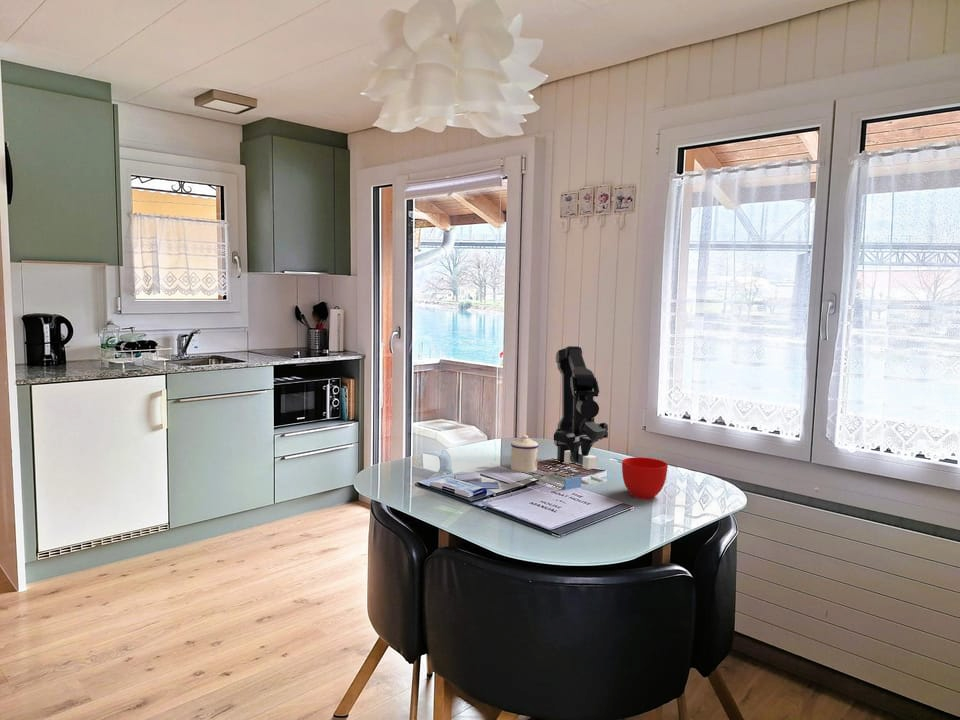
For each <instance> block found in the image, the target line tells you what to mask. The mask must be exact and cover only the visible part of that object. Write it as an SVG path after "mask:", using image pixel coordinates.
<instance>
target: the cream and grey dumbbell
mask: <svg viewBox="0 0 960 720" xmlns="http://www.w3.org/2000/svg"><path fill="white" fill-rule="evenodd" d="M564 462H566V463H569V464H568V465H571V464H570V463H574V464H578V465H581V466H582V469H585V470H591V469H592V470H593V469H597V464H598V457H597V456H596V455H592V454H588V456H585V455H582V453H579V456H578V462H575V461H574V459H573V457H572V454H571V452H570V450H567V451H564Z"/></svg>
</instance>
